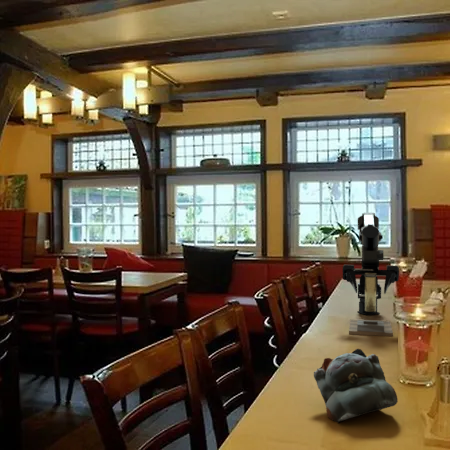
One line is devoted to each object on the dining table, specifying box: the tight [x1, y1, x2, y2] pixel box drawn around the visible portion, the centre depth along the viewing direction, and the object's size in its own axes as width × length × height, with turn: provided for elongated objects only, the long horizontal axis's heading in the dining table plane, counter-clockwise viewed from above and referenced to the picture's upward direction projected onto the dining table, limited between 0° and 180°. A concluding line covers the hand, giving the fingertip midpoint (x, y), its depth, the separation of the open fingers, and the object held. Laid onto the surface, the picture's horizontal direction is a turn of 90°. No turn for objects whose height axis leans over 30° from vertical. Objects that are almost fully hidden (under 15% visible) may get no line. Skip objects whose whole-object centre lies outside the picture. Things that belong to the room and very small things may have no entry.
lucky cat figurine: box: [313, 348, 399, 424], centre depth 108 cm, size 15×12×14 cm
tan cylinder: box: [365, 273, 377, 312], centre depth 180 cm, size 4×4×13 cm
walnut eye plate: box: [348, 319, 394, 337], centre depth 185 cm, size 20×14×3 cm
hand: (370, 292), depth 179 cm, fingers open, 9 cm apart
